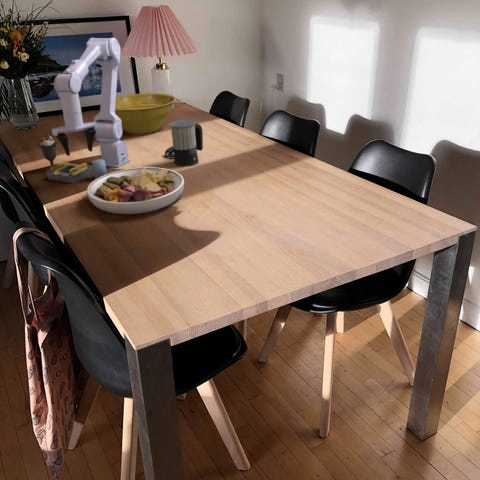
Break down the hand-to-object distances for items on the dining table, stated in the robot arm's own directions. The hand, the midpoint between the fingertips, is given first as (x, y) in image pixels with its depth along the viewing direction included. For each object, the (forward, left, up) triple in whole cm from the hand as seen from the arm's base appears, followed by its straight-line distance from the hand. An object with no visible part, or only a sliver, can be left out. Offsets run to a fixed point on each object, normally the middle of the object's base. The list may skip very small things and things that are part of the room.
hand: (79, 152), depth 172 cm
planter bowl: (+17, -59, -10) cm, 63 cm away
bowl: (-27, +6, -11) cm, 29 cm away
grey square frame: (+8, -2, -10) cm, 13 cm away
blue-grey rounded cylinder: (-4, -4, -10) cm, 12 cm away
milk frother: (-20, -30, -10) cm, 38 cm away
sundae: (+19, -5, -10) cm, 22 cm away
